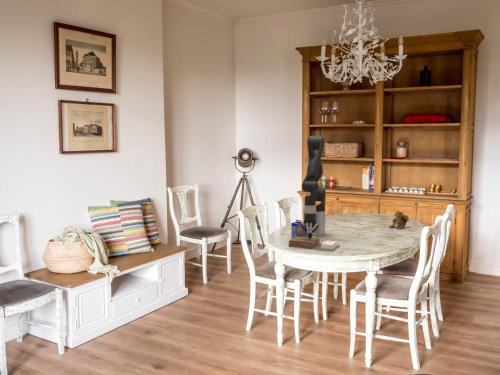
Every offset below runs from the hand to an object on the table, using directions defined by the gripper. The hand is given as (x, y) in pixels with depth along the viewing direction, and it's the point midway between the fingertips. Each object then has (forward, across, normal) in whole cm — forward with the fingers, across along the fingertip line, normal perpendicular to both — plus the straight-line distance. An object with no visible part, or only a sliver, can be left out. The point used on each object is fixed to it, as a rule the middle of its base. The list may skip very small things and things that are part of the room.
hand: (309, 238), depth 318 cm
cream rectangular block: (+3, -13, +1) cm, 13 cm away
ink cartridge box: (+5, +12, -12) cm, 17 cm away
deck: (+5, +4, 0) cm, 6 cm away
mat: (+5, -11, 0) cm, 12 cm away
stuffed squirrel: (+5, -44, -81) cm, 93 cm away
